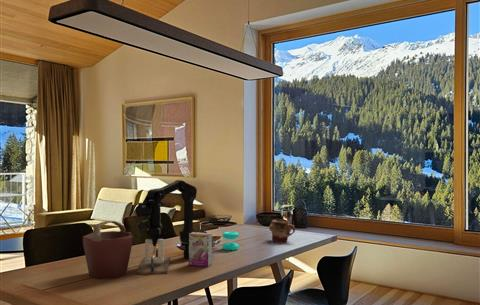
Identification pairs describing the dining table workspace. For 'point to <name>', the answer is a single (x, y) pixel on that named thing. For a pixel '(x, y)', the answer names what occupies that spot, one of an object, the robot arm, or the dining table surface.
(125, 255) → the bucket
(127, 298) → the dining table surface
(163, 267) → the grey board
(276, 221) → the brown ceramic mug
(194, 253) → the candy bar box
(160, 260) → the hollow square tube
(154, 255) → the bent copper wire
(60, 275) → the dining table surface
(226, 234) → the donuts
